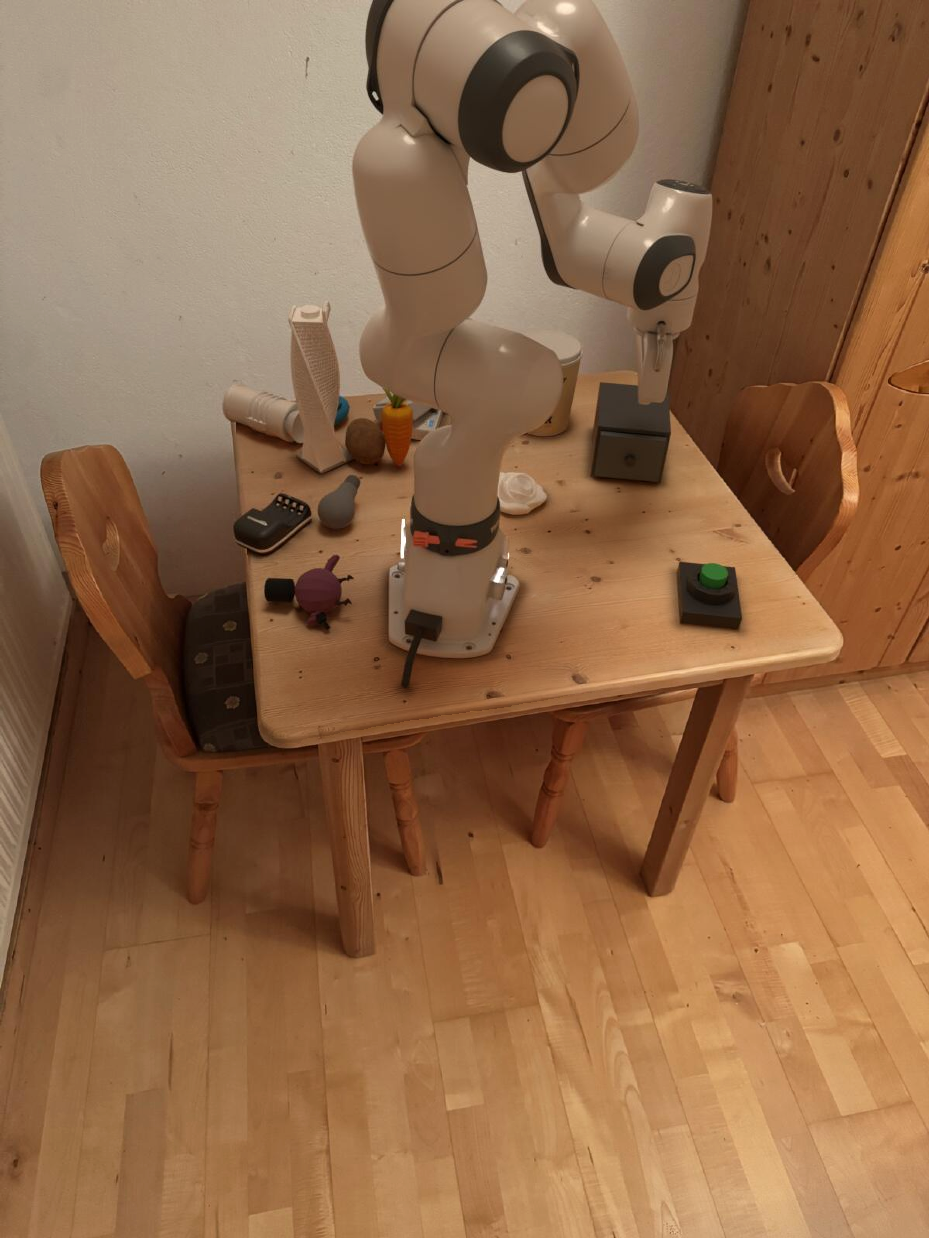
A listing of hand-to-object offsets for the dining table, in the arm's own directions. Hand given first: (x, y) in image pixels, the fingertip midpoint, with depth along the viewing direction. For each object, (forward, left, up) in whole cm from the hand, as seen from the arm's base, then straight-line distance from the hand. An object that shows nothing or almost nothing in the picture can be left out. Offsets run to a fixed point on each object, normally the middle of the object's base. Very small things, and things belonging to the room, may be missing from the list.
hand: (643, 399), depth 130 cm
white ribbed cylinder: (+8, +55, -15) cm, 57 cm away
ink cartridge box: (+18, +33, -17) cm, 41 cm away
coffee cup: (+23, +15, -19) cm, 33 cm away
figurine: (-32, +49, -16) cm, 61 cm away
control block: (-22, -12, -19) cm, 31 cm away
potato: (+5, +44, -12) cm, 46 cm away
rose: (-2, +17, -19) cm, 26 cm away
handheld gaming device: (+13, +41, -13) cm, 45 cm away
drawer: (+12, 0, -18) cm, 21 cm away
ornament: (+14, +49, -16) cm, 54 cm away
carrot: (+4, +38, -19) cm, 42 cm away
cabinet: (+14, 0, -19) cm, 23 cm away
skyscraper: (+4, +50, -19) cm, 54 cm away
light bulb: (-6, +42, -14) cm, 45 cm away
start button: (-22, -12, -15) cm, 29 cm away
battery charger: (-11, +51, -17) cm, 55 cm away
